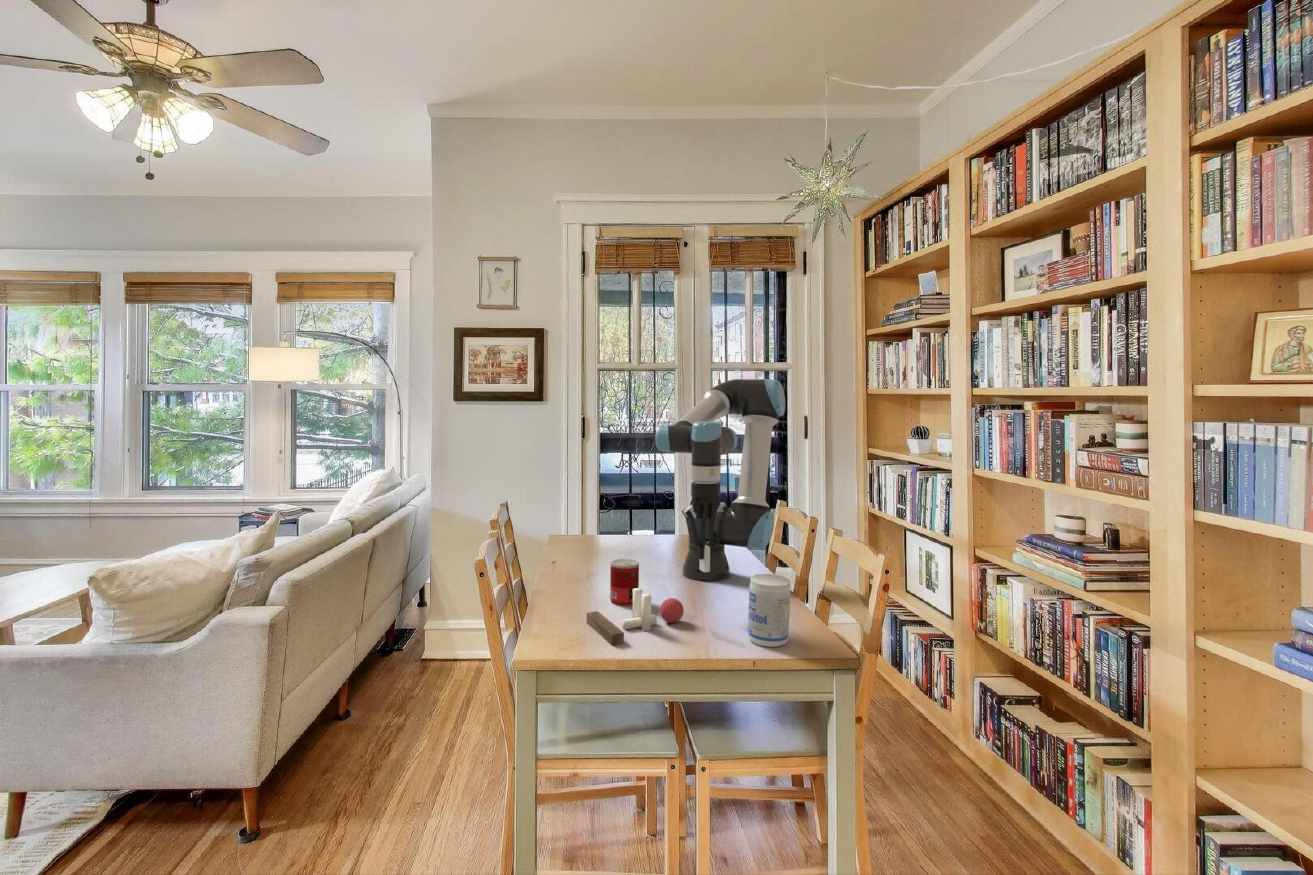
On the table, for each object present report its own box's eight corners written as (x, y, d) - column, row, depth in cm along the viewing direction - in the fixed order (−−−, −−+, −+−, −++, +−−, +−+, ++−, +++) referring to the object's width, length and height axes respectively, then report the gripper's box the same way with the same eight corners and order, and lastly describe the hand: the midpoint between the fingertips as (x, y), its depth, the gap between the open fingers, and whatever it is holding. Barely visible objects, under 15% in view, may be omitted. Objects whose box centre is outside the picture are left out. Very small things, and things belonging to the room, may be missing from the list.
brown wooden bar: (597, 620, 158) (597, 611, 158) (623, 643, 144) (623, 632, 144) (586, 622, 156) (586, 612, 156) (611, 645, 142) (612, 634, 142)
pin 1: (639, 620, 159) (639, 587, 158) (643, 623, 156) (644, 590, 156) (630, 621, 157) (631, 588, 157) (634, 624, 155) (635, 591, 155)
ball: (651, 608, 158) (664, 621, 161) (663, 617, 153) (677, 631, 156) (666, 590, 160) (679, 603, 162) (679, 598, 155) (692, 612, 157)
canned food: (635, 606, 169) (635, 567, 168) (606, 604, 170) (607, 565, 170) (641, 598, 176) (641, 559, 176) (614, 595, 178) (614, 558, 177)
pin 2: (648, 626, 154) (648, 593, 154) (652, 630, 152) (653, 596, 151) (639, 628, 153) (639, 594, 152) (643, 631, 151) (644, 597, 150)
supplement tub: (739, 640, 146) (741, 579, 145) (760, 629, 154) (762, 571, 153) (776, 652, 140) (778, 587, 139) (796, 639, 147) (798, 578, 146)
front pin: (652, 613, 157) (622, 618, 153) (657, 616, 155) (626, 622, 151) (652, 622, 157) (621, 627, 154) (656, 625, 155) (625, 631, 151)
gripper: (691, 485, 154) (690, 578, 156) (734, 481, 160) (733, 571, 162) (676, 481, 161) (675, 570, 163) (718, 477, 167) (717, 563, 169)
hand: (704, 570), depth 163 cm, fingers closed
